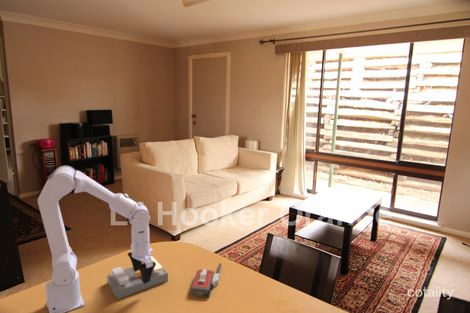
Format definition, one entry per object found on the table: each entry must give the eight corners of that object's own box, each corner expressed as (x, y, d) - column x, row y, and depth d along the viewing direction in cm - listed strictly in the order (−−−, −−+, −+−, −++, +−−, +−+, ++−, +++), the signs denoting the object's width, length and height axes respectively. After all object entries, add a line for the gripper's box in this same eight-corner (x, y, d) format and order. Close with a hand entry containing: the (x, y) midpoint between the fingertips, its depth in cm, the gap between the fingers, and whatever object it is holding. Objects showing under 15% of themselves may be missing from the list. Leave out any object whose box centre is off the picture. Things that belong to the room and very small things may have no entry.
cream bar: (154, 273, 108) (154, 270, 108) (144, 261, 115) (144, 258, 115) (162, 270, 110) (162, 267, 110) (152, 259, 117) (152, 256, 117)
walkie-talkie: (214, 300, 102) (223, 267, 122) (214, 288, 101) (223, 257, 121) (188, 298, 103) (201, 265, 122) (188, 286, 102) (201, 255, 121)
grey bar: (120, 285, 101) (120, 281, 101) (111, 272, 108) (111, 269, 108) (129, 282, 103) (129, 278, 103) (120, 269, 110) (120, 266, 110)
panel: (117, 299, 100) (116, 291, 100) (107, 282, 109) (106, 275, 108) (167, 280, 111) (167, 273, 111) (155, 266, 120) (155, 259, 119)
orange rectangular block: (135, 278, 107) (135, 273, 106) (134, 276, 108) (133, 271, 108) (144, 275, 109) (143, 270, 108) (142, 273, 110) (142, 268, 109)
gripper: (161, 245, 100) (161, 283, 103) (143, 229, 111) (145, 263, 114) (139, 252, 96) (141, 290, 99) (124, 234, 107) (125, 269, 110)
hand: (142, 276), depth 106 cm, fingers open, 7 cm apart
